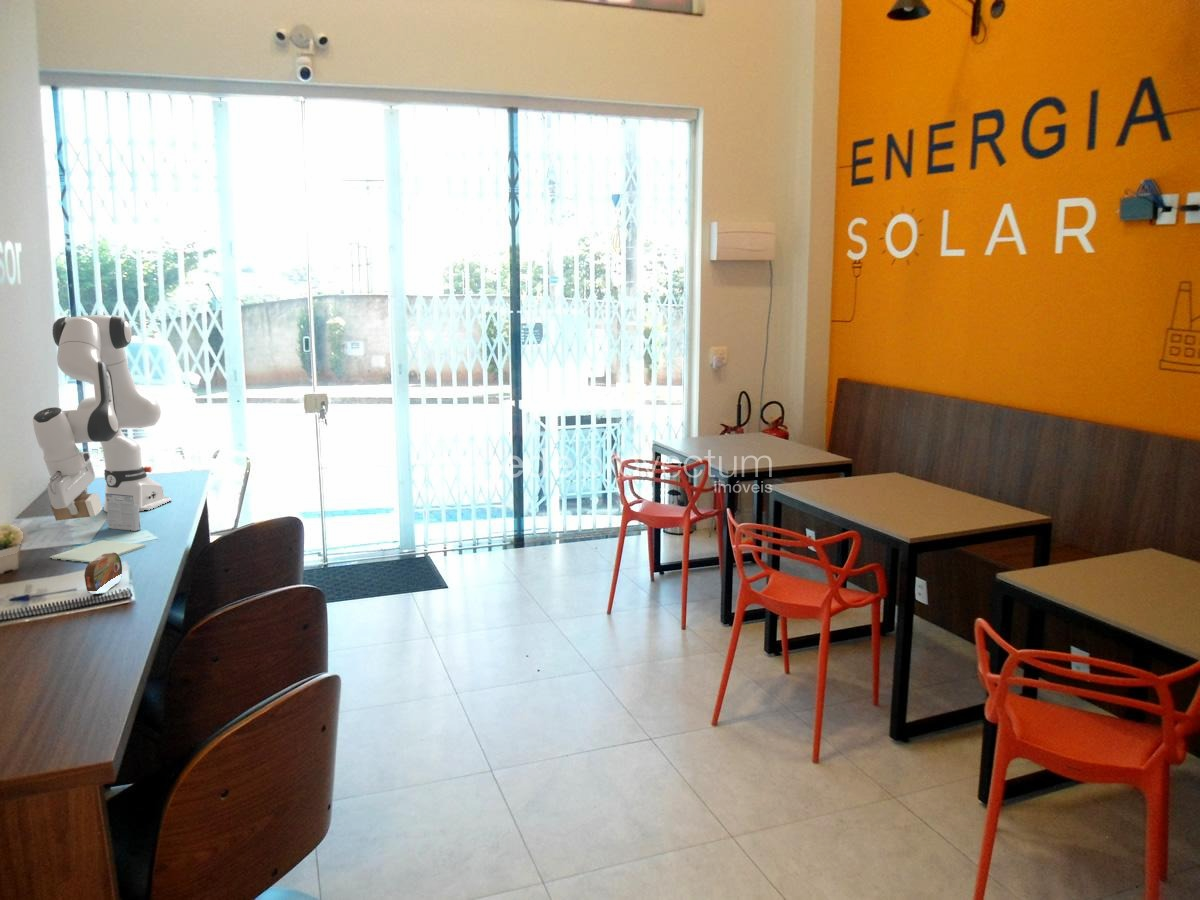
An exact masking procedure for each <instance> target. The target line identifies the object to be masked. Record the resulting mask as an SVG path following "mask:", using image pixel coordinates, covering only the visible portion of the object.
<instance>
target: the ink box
mask: <svg viewBox="0 0 1200 900" xmlns="http://www.w3.org/2000/svg"><path fill="white" fill-rule="evenodd" d="M104 493H105V495H106V501H107V512H106V514H107V527H108V529H110V528H111V530H112V529H113V530H120V531H121V530H123V531H130V530H131V531H132V532H138V531H137V530H139V531H141V518H140V511H139V504H134V503H133V496H129V495H118V494H107V493H106V492H104ZM119 497H120V498H122V499H123V500H116V498H119ZM131 531H130V532H131Z"/></svg>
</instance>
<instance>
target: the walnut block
mask: <svg viewBox="0 0 1200 900" xmlns="http://www.w3.org/2000/svg"><path fill="white" fill-rule="evenodd" d="M74 502H75V503H74V505H75V506H76V507H78V508H79V512H78V513H77V514H76V515H71V513H70V510H69V509H68V508H67V507H66V508H60V509H55V508H53V507H52V505H51V504H50V507H51V510H52V513H53V516H54V518H55V521H56V522H58V521H63V520H73V519H75V520H76V519H81V518H92V517H96V516H97V515H98V514H99V513H100V512H101V511H102V510H104V507H103V505H102V501H101V499H100V496H99V493H97V492H95V493H88V494H84V495H79V496H78V497H77V498H76V499H75V500H74Z"/></svg>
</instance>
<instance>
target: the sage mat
mask: <svg viewBox="0 0 1200 900" xmlns="http://www.w3.org/2000/svg"><path fill="white" fill-rule="evenodd" d="M145 547H146V544H144V543H133V542H125V541H123V542H122V541H115V540H104V539H101V540H97V541H94V542H91V543H87V544H86V545H85V544H84V545H82V546H78V547H76V548H72V549H70V550H66V551H63V552H60V553H57V554H54V555H51V556H49V559H50V558H52V559H51V560H57V559H61V560H60V561H66V560H72V561H71V562H74V561H82V562H81V563H83V562H92V561H94V560H95V559H97V558H98V557H100V556H101V555H103V554H107V553H117V554H118V555H119V557H120V556H123V555H125V554H128V553H131V552H134V551H137V550H140V549H142V548H145Z"/></svg>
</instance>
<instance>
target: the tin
mask: <svg viewBox="0 0 1200 900" xmlns="http://www.w3.org/2000/svg"><path fill="white" fill-rule="evenodd" d="M122 573H123V563H122V560H121V557H120V556H119V555H118V554H117V553H107V554H103V555H101V556H100V557H98V558H97V559H95V560H94V561H92V562H91V563H87V565H86V568H85V571H84V575H83V576H84V582H85V587H86V591H87V592H88V591H97V590H98V589H99V588H100V587H102V586H103V585H104V584H106V583H107V582H108V581H110V580H111V579H113V578H115V577H116V576H118V575H120V574H122Z"/></svg>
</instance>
